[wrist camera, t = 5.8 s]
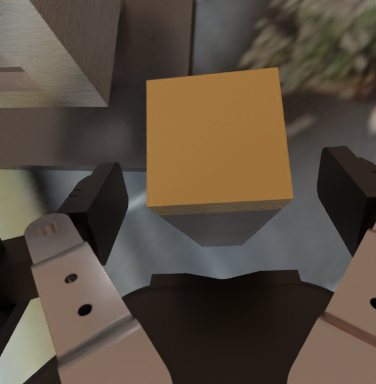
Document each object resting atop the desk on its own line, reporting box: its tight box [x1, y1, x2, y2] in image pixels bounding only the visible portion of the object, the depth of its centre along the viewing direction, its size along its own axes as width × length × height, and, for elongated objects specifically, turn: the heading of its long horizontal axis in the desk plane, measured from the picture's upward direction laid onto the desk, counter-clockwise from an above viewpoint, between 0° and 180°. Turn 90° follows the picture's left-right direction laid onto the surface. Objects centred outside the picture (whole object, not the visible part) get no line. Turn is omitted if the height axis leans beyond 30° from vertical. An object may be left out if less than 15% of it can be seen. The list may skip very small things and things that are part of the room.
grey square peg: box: [147, 67, 294, 247], centre depth 12 cm, size 2×2×14 cm
